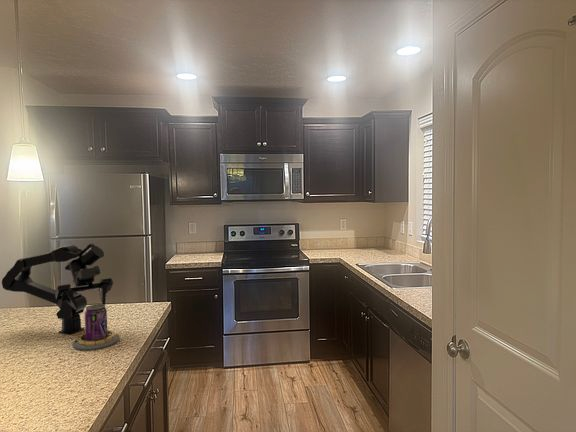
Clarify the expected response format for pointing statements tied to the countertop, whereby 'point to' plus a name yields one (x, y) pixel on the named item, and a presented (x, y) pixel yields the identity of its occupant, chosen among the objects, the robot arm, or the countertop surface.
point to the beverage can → (95, 322)
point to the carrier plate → (87, 348)
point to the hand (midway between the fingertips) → (91, 307)
